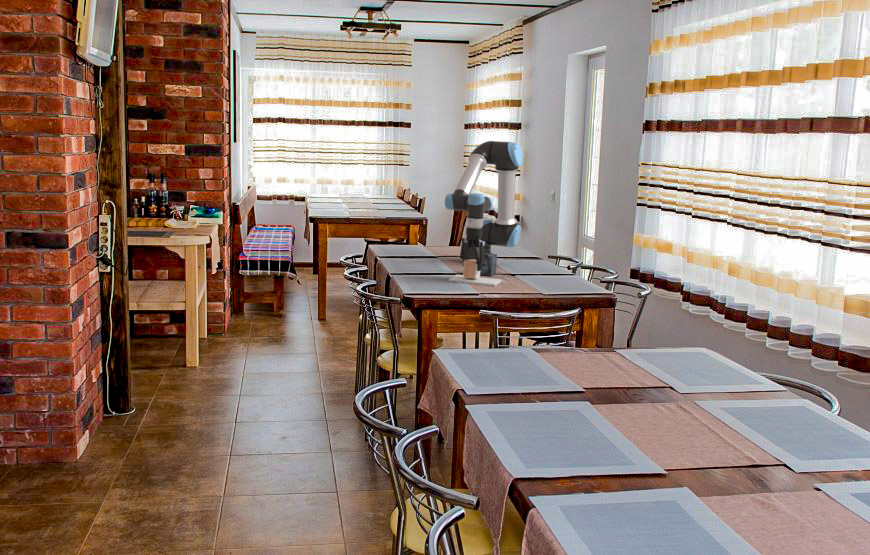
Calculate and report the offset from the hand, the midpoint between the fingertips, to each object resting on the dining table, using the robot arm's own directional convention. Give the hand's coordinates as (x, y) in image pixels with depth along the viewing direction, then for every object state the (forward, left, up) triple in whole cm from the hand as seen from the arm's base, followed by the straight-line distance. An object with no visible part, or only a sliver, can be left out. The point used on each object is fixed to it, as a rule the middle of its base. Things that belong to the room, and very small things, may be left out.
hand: (471, 276), depth 394 cm
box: (-20, +2, -3) cm, 20 cm away
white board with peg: (0, +2, -2) cm, 3 cm away
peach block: (0, 0, 0) cm, 0 cm away
